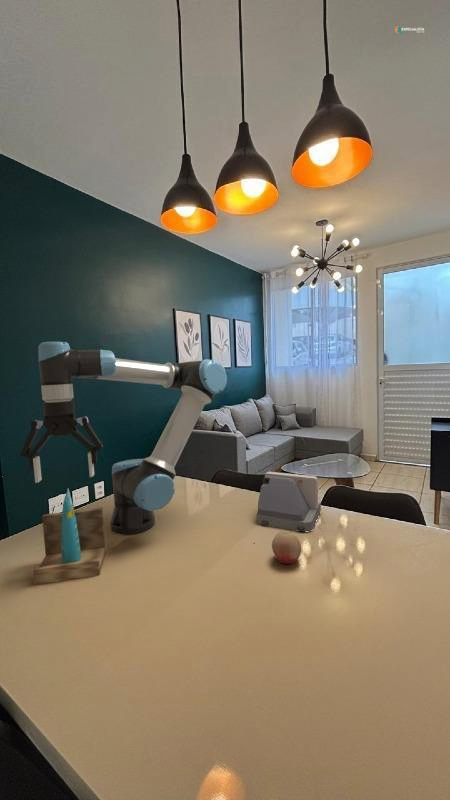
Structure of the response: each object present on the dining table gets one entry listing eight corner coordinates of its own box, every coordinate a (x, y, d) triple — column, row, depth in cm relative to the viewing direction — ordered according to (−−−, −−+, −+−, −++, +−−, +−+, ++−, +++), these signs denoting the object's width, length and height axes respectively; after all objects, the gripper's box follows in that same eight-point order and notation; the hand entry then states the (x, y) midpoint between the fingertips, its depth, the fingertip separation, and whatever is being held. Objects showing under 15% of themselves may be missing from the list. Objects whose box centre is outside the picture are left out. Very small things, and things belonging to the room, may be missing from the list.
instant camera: (328, 514, 122) (328, 473, 121) (305, 538, 106) (304, 491, 105) (276, 502, 135) (275, 465, 134) (248, 522, 118) (246, 480, 117)
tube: (81, 563, 92) (76, 494, 90) (62, 568, 90) (56, 498, 88) (80, 551, 99) (75, 486, 97) (62, 555, 97) (56, 489, 95)
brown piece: (105, 552, 102) (102, 507, 101) (99, 574, 91) (95, 524, 90) (48, 561, 99) (43, 514, 98) (34, 584, 88) (29, 532, 86)
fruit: (304, 555, 95) (303, 528, 95) (297, 571, 88) (296, 542, 88) (276, 550, 99) (275, 524, 98) (268, 565, 92) (267, 536, 91)
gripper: (109, 396, 97) (115, 469, 99) (12, 402, 92) (20, 479, 94) (105, 398, 90) (111, 477, 91) (0, 405, 85) (9, 488, 86)
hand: (65, 478), depth 93 cm, fingers open, 13 cm apart
